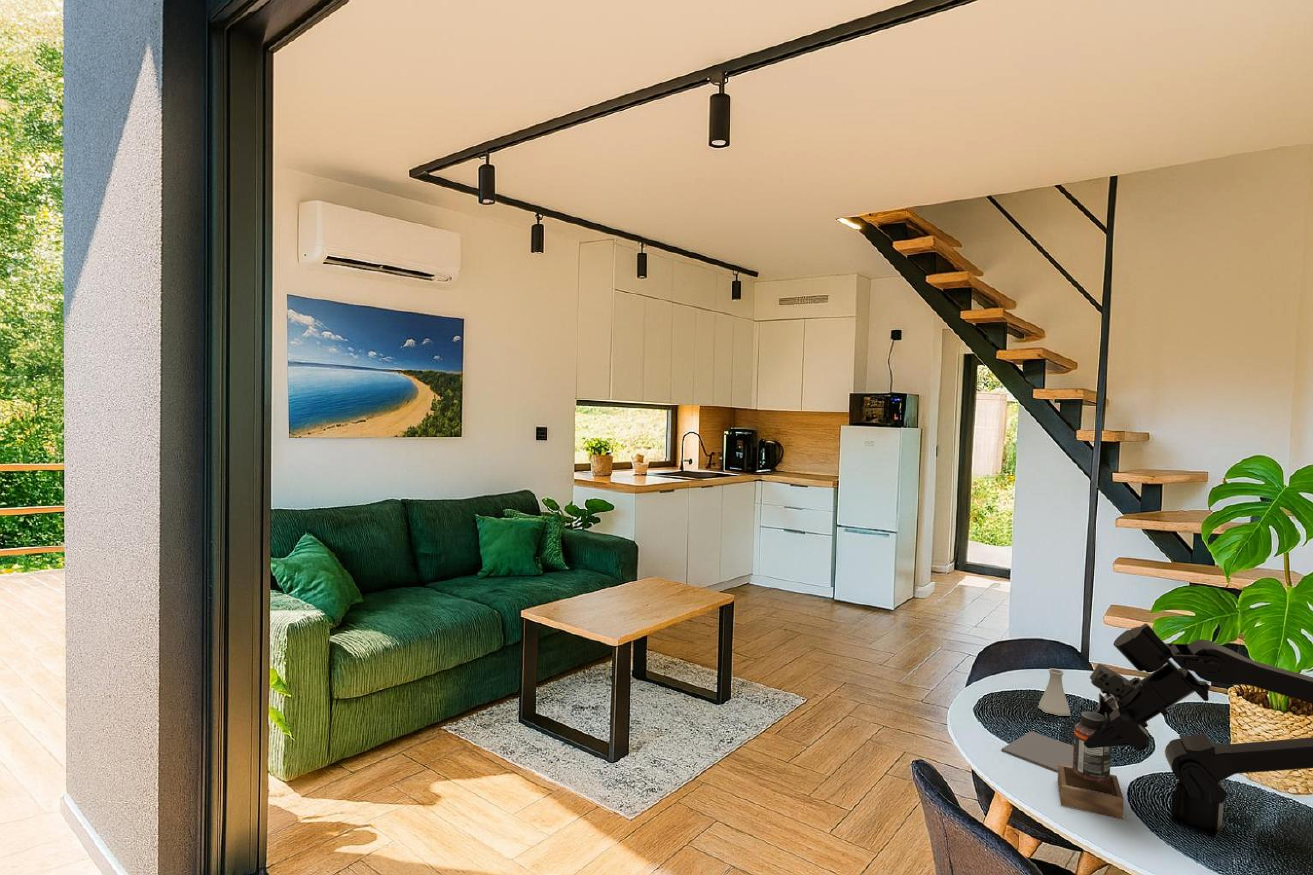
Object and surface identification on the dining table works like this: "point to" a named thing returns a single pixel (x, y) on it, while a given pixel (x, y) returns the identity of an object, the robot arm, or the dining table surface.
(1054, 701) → the flask
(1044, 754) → the grey-brown square block
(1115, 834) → the dining table surface
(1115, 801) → the walnut box
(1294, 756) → the robot arm
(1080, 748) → the supplement bottle
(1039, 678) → the dining table surface
